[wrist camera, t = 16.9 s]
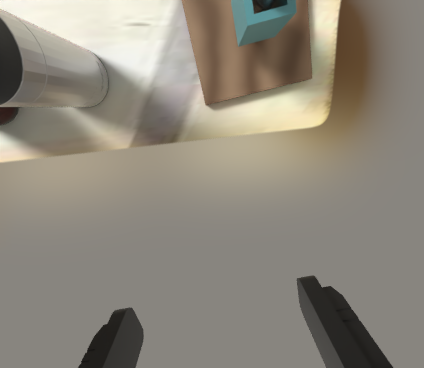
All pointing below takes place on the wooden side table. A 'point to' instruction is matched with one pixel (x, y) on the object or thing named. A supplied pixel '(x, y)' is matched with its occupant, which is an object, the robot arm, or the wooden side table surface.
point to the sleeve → (260, 20)
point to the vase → (7, 114)
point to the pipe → (262, 5)
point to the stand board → (245, 52)
